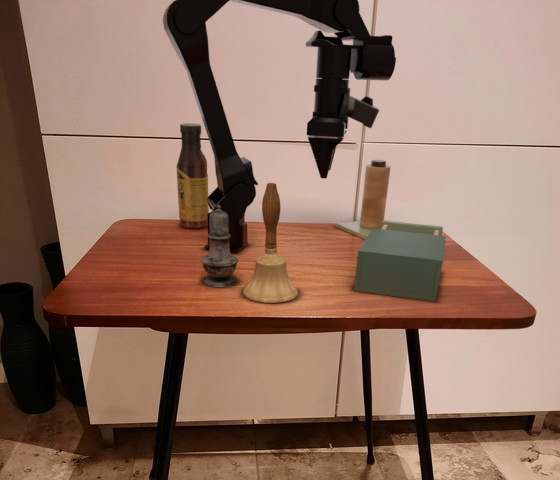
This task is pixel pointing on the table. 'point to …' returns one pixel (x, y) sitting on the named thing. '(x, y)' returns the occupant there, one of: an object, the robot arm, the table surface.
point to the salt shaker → (219, 252)
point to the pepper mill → (374, 194)
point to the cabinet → (400, 264)
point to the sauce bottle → (192, 179)
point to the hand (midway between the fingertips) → (325, 174)
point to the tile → (354, 228)
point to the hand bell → (270, 259)
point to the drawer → (411, 227)
